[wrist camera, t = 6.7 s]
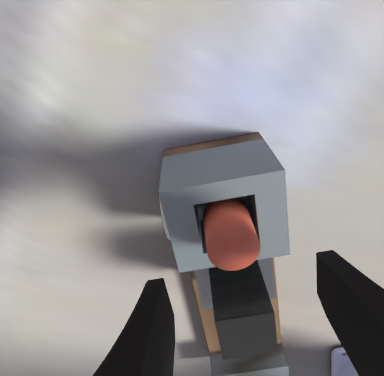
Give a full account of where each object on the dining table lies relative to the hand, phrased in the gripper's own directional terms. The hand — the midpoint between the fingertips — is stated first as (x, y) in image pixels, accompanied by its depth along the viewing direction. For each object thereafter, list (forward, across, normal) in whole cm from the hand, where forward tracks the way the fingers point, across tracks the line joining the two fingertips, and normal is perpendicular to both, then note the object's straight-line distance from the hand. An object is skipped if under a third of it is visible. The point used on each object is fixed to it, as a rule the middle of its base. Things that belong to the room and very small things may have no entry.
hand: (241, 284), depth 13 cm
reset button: (+5, 0, 0) cm, 5 cm away
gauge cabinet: (+9, 0, 0) cm, 9 cm away
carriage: (+8, 0, +6) cm, 10 cm away
